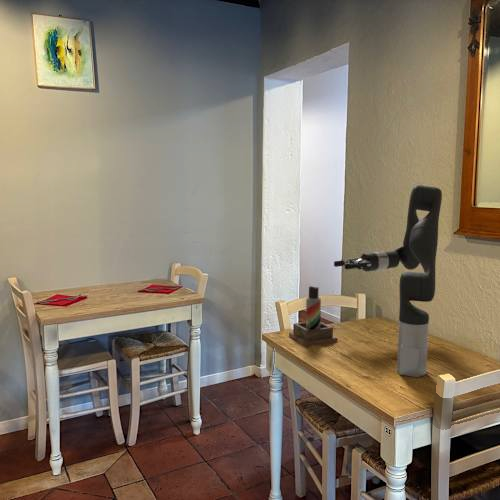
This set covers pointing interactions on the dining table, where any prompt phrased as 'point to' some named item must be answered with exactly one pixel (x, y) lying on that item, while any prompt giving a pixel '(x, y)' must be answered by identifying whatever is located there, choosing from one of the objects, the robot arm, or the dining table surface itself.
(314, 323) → the lotion bottle
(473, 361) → the dining table surface
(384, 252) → the robot arm
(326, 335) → the bottle holder
